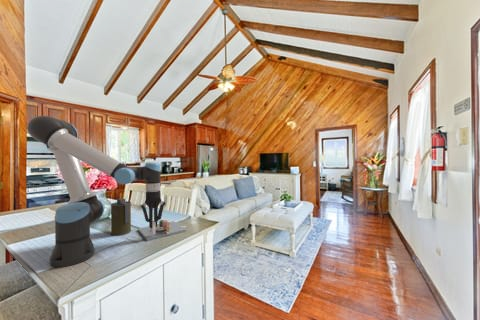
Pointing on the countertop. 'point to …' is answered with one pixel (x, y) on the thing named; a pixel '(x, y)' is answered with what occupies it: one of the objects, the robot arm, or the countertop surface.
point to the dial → (163, 226)
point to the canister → (120, 217)
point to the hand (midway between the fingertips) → (153, 233)
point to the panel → (173, 230)
